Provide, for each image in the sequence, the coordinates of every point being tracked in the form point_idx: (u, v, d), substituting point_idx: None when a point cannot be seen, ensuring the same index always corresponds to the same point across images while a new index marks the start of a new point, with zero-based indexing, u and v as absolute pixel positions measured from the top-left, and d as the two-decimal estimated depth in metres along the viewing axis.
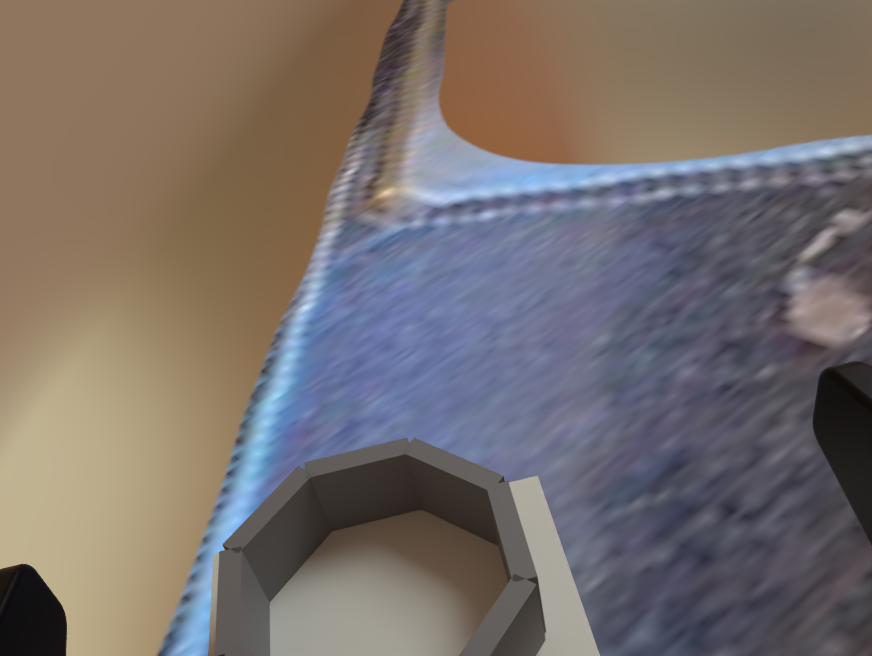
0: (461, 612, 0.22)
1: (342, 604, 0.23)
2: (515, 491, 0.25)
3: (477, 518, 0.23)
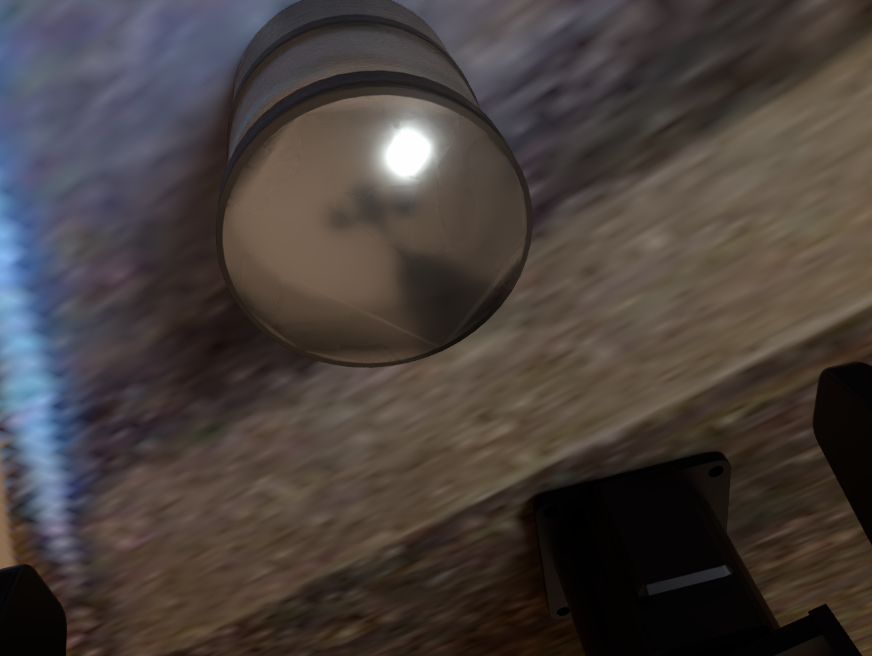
0: None
1: None
2: None
3: None
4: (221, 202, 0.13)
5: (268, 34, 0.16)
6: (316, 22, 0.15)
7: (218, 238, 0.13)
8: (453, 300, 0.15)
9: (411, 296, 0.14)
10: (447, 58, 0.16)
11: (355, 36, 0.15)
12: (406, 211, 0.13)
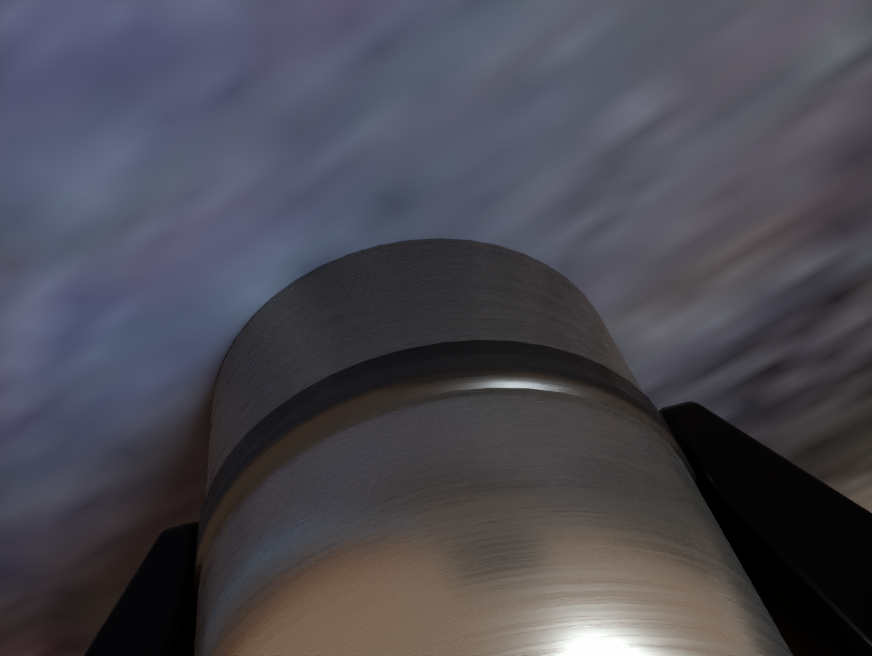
0: None
1: None
2: None
3: None
4: None
5: (278, 344, 0.08)
6: (382, 363, 0.07)
7: None
8: None
9: None
10: (652, 423, 0.08)
11: (480, 440, 0.06)
12: None
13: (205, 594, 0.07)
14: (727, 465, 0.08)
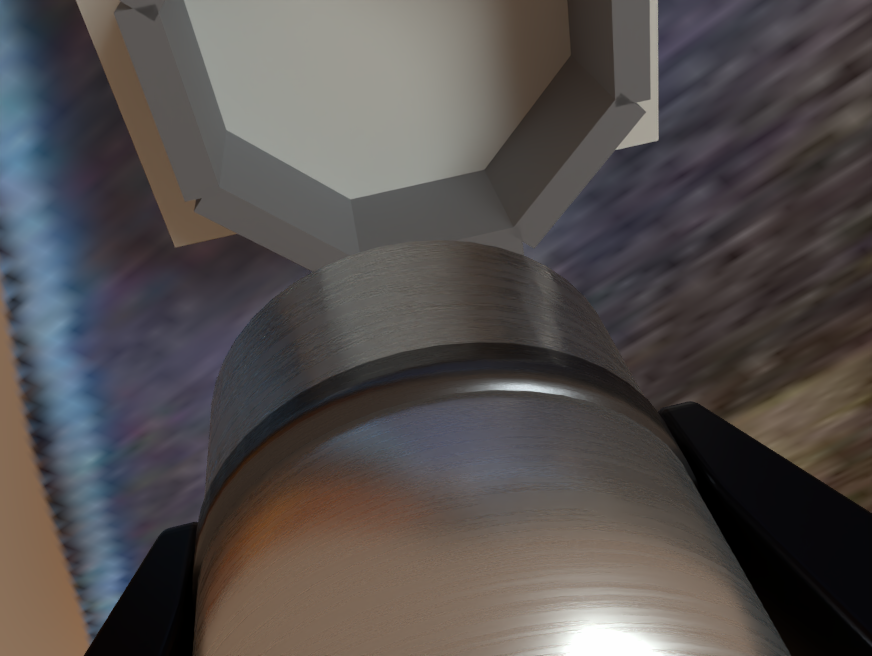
0: (491, 15, 0.15)
1: None
2: None
3: None
4: None
5: (277, 346, 0.08)
6: (381, 366, 0.07)
7: None
8: None
9: None
10: (652, 426, 0.07)
11: (479, 443, 0.06)
12: None
13: (203, 597, 0.07)
14: (727, 465, 0.08)
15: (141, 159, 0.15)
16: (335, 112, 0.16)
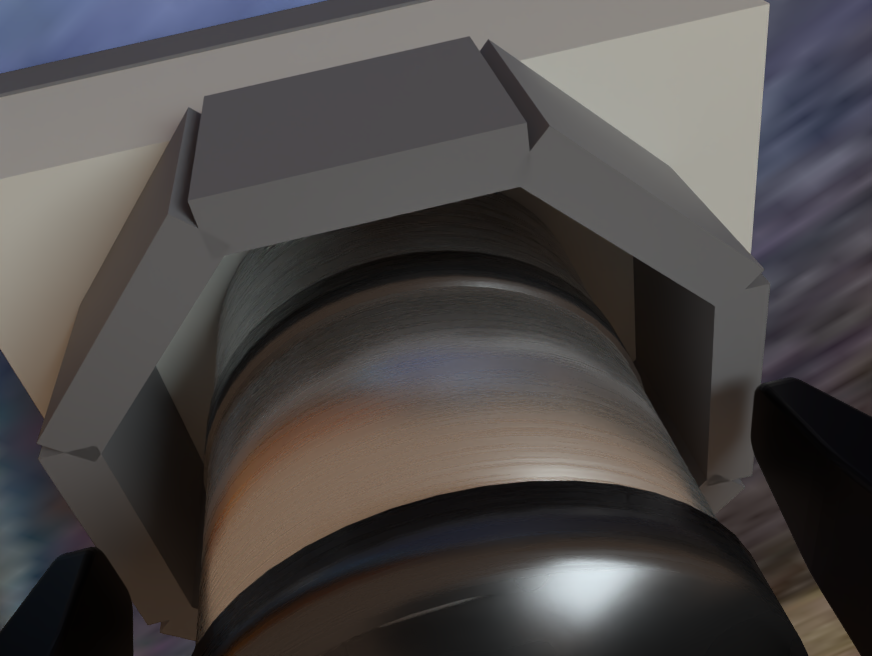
0: None
1: None
2: (703, 49, 0.10)
3: None
4: None
5: (276, 262, 0.09)
6: (365, 268, 0.08)
7: None
8: None
9: None
10: (599, 324, 0.09)
11: (445, 323, 0.08)
12: None
13: (214, 463, 0.08)
14: (840, 437, 0.08)
15: None
16: None
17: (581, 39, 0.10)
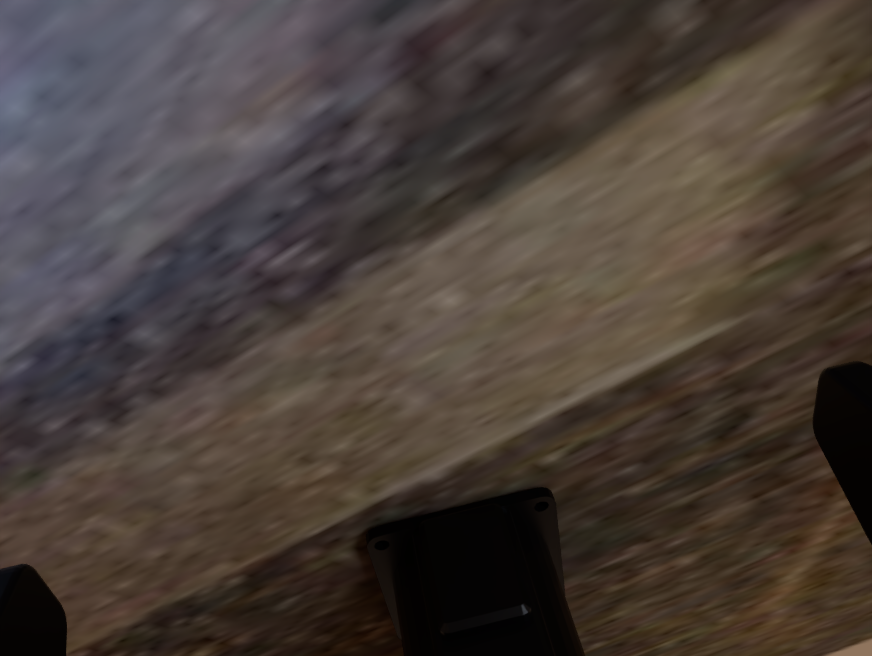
0: None
1: None
2: None
3: None
4: None
5: None
6: None
7: None
8: None
9: None
10: None
11: None
12: None
13: None
14: None
15: None
16: None
17: None
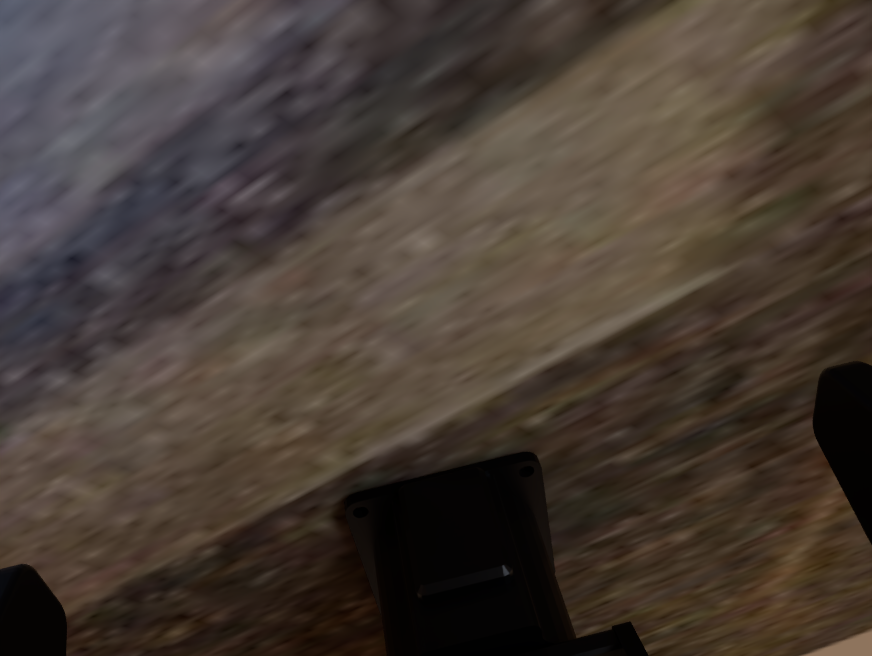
0: None
1: None
2: None
3: None
4: None
5: None
6: None
7: None
8: None
9: None
10: None
11: None
12: None
13: None
14: None
15: None
16: None
17: None
